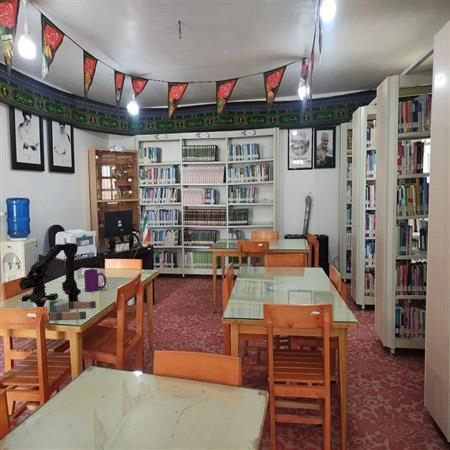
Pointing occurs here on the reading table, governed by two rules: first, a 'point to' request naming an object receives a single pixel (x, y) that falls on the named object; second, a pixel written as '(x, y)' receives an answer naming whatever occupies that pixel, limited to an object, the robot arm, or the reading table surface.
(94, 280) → the mug
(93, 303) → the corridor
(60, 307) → the box
